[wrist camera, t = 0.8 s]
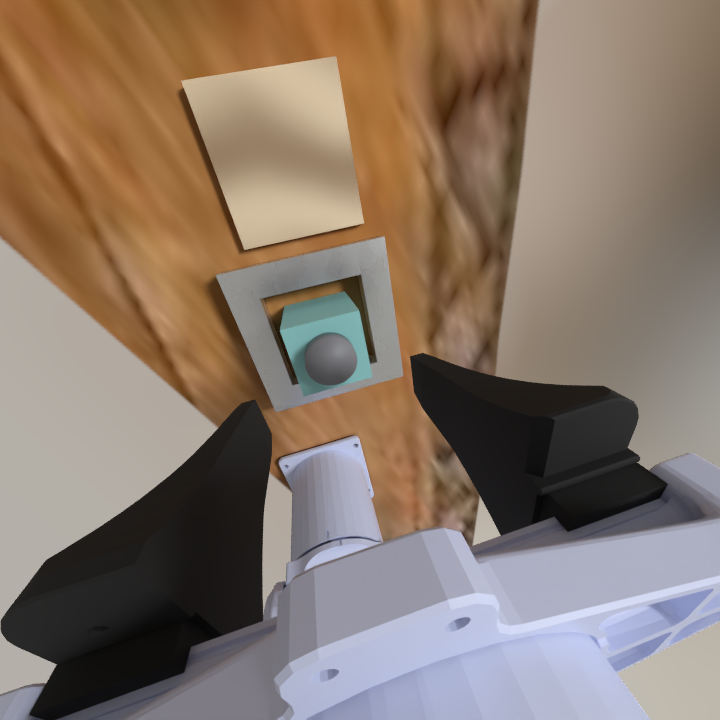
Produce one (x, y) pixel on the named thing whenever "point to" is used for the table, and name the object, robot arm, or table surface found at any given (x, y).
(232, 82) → the cork coaster
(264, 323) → the block
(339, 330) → the teal cube with dome
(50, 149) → the table surface
